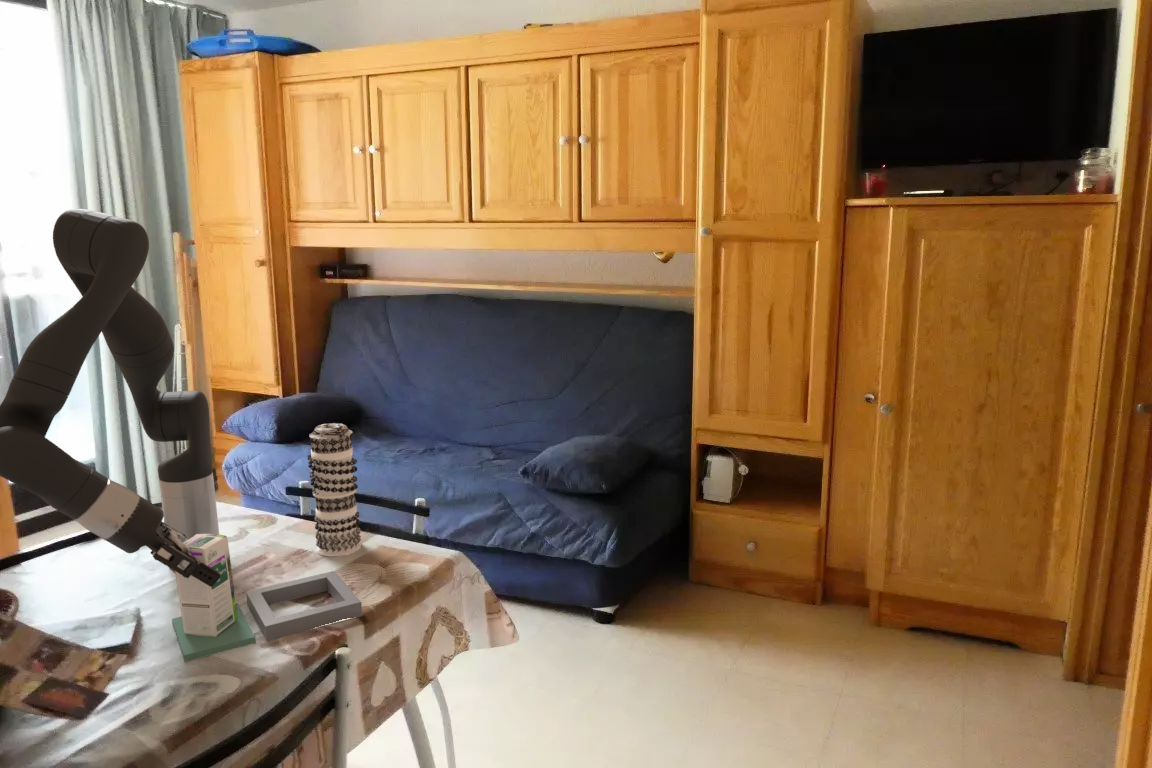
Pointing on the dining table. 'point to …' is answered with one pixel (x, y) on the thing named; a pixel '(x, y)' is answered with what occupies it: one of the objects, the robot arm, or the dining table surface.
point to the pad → (214, 638)
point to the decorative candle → (334, 490)
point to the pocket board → (306, 619)
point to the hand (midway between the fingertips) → (211, 571)
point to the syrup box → (208, 588)
